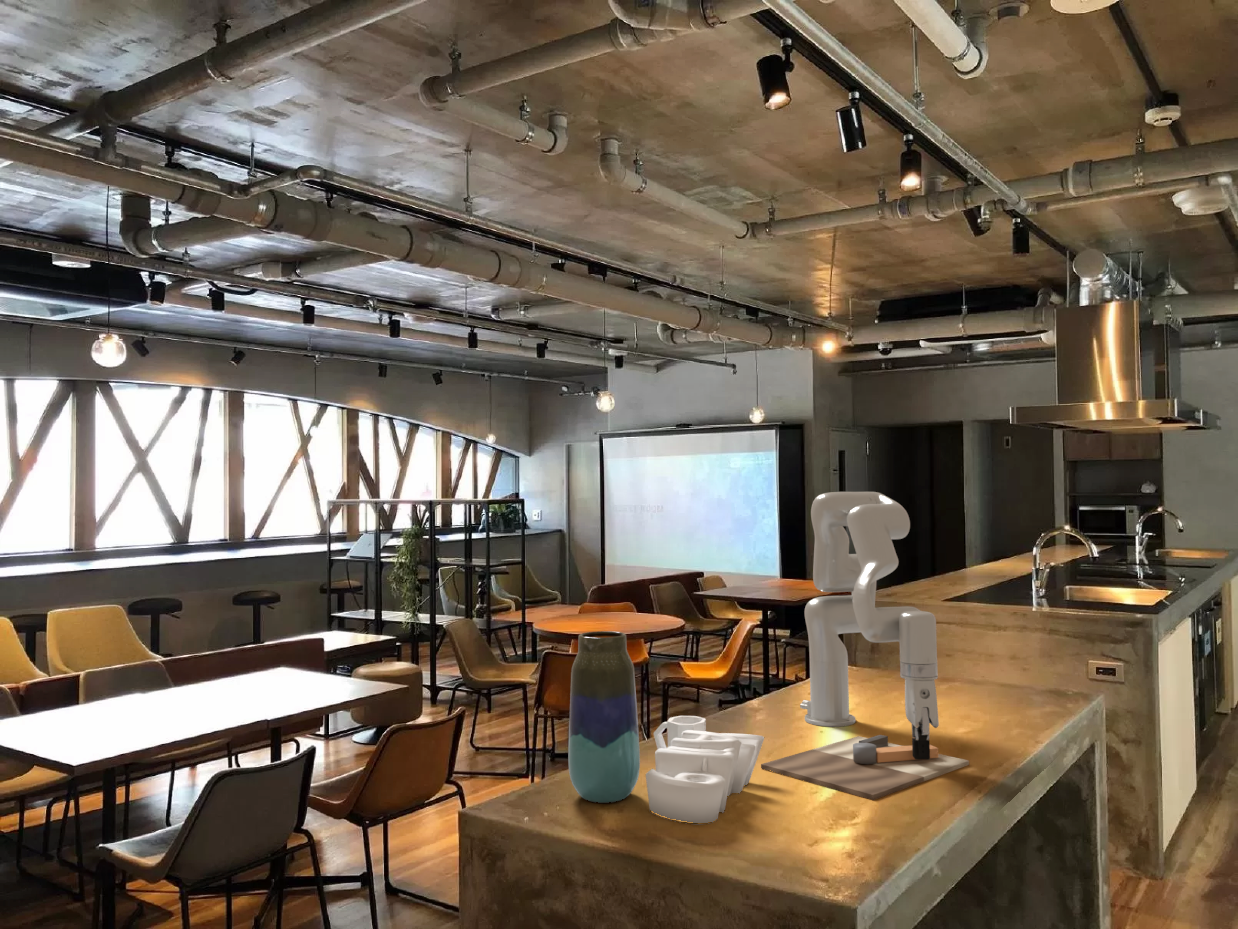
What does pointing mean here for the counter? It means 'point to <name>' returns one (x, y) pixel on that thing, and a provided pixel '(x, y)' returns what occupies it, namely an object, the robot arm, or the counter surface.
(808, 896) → the counter surface
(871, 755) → the bar
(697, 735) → the wavy white extrusion
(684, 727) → the mug
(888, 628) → the robot arm
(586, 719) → the vase
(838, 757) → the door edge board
